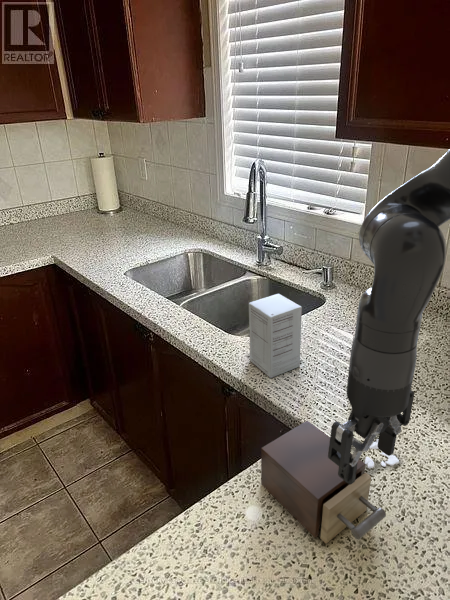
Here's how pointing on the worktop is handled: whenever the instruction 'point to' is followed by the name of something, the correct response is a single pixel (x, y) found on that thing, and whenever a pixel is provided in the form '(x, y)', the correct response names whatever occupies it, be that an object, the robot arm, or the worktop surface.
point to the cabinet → (301, 473)
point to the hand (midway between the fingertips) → (366, 464)
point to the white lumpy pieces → (391, 461)
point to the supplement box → (275, 334)
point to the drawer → (349, 510)
